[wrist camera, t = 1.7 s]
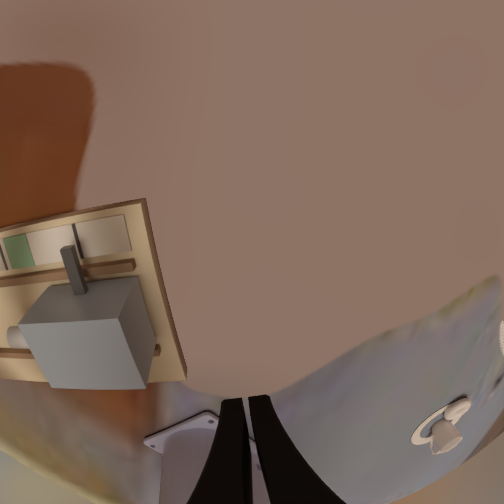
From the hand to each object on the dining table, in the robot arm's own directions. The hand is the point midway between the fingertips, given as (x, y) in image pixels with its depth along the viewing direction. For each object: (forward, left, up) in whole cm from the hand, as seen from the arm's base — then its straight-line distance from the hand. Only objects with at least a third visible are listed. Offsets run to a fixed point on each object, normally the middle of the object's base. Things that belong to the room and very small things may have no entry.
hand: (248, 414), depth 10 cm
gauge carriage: (+6, +8, -8) cm, 12 cm away
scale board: (+7, +11, -9) cm, 16 cm away
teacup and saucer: (-33, -10, -10) cm, 35 cm away
